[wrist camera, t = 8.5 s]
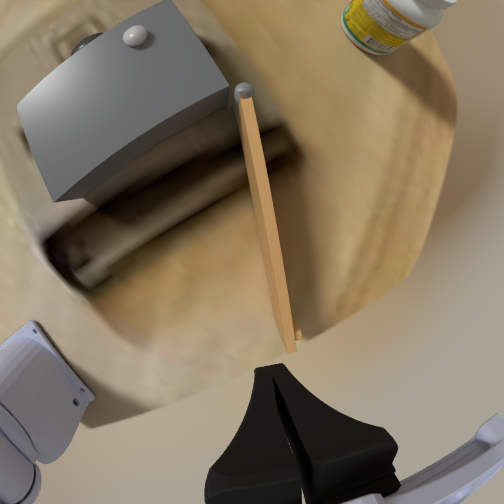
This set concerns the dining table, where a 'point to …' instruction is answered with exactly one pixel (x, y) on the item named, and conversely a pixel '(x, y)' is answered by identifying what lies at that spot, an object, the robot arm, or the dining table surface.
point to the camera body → (119, 99)
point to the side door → (265, 214)
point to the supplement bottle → (390, 22)
